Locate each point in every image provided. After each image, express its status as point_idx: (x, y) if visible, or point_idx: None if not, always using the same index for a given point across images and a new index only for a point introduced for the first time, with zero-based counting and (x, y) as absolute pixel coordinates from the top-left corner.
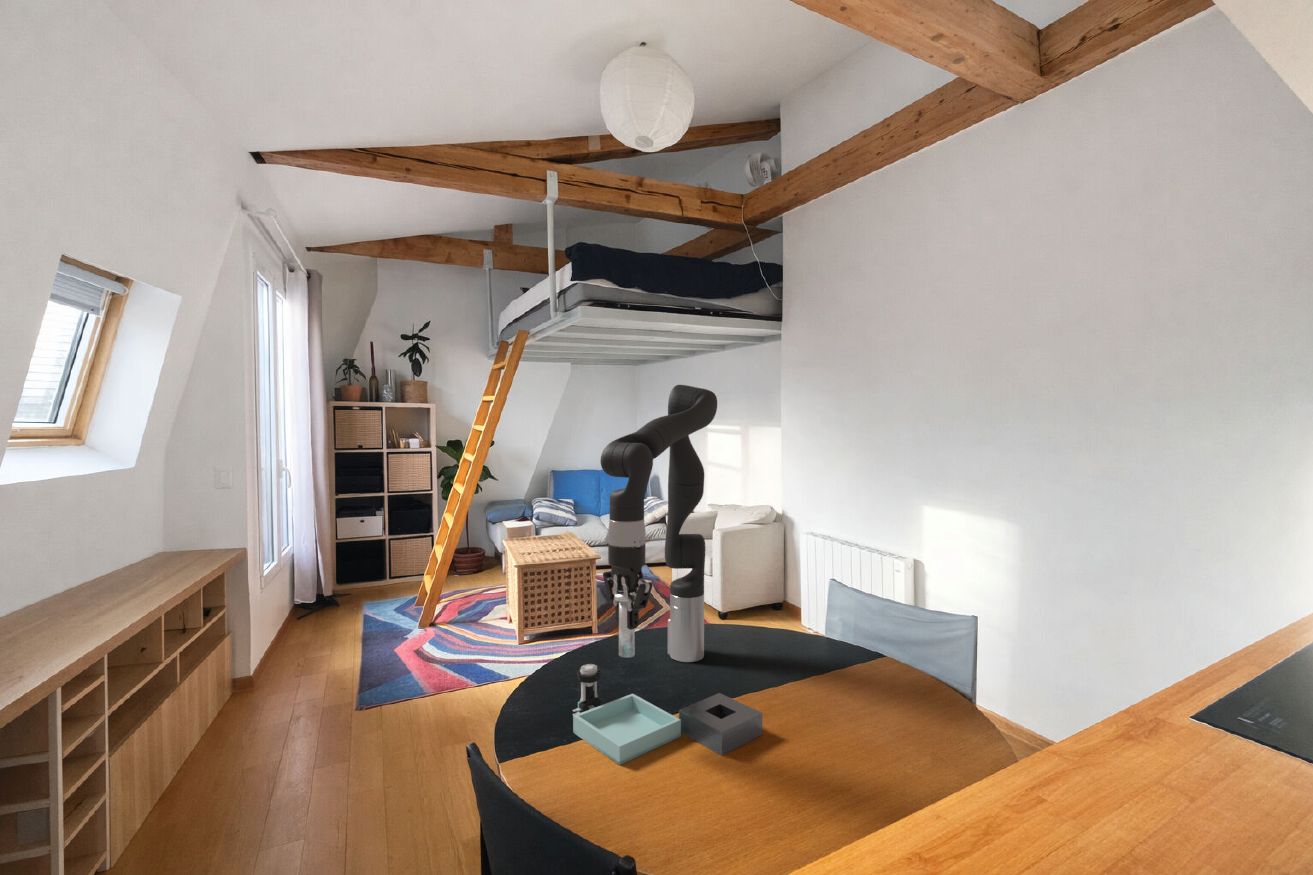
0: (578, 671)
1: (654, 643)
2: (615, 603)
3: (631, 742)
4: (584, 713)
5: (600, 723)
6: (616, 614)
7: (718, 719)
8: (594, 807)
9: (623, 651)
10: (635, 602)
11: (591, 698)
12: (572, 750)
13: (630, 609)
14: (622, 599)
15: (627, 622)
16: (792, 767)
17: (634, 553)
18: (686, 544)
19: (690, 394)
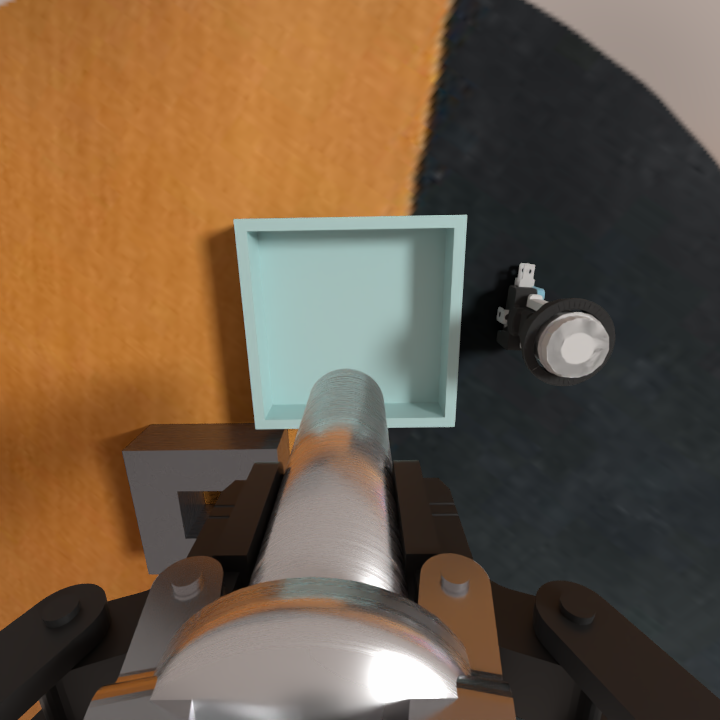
0: (600, 315)
1: (685, 657)
2: (438, 572)
3: (238, 262)
4: (455, 251)
5: (433, 295)
6: (419, 500)
7: (179, 485)
8: (126, 55)
9: (324, 383)
10: (6, 677)
11: (513, 319)
12: (380, 161)
13: (172, 574)
14: (204, 632)
15: (269, 483)
16: (44, 493)
17: None
18: None
19: None
